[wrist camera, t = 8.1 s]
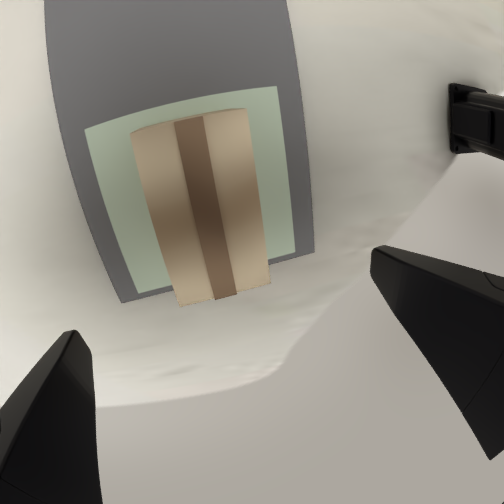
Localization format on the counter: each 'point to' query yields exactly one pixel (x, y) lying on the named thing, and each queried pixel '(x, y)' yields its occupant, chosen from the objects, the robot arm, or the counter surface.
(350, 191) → the counter surface
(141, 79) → the mat
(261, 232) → the taped cardboard box
